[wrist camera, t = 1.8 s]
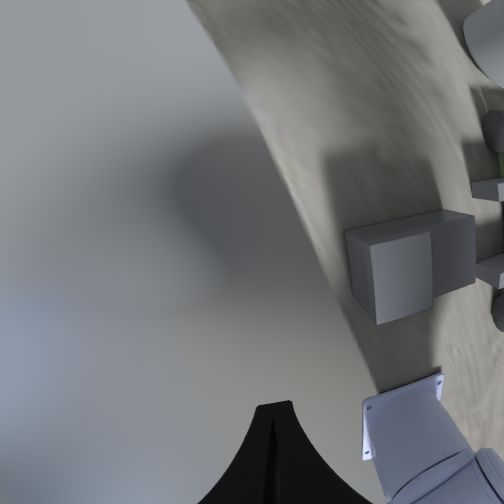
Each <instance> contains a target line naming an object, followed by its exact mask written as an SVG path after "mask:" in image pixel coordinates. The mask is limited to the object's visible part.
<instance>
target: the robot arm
mask: <svg viewBox="0 0 504 504" xmlns="http://www.w3.org/2000/svg"><path fill="white" fill-rule="evenodd" d="M443 381H444V374H443V373H442V372H440V373H437V374H434V375H432V376H430V377H427V378H424V379H422V380H419V381H417V382H414V383H411V384H409V385H406V386H403V387H400V388H397V389H394V390H391V391H388V392H385V393H382V394H379V395H376V396H372V397H369V398H366V399H365V400H364V401H363V404H362V405H363V419H362V420H363V421H362V424H363V425H362V426H363V427H362V459H363V460H368V459H371V458H372V459H373V463H374V465H375V468H376V471H377V474H378V477H379V480H380V483H381V486H382V489H383V492H384V495H385V497H386V499H387V501H388V503H387V504H504V462H503V461H502V460H501V458H500V457H499V456H498V455H497V453H496V452H495V451H494V450H493V449H492V448H486V449H485V448H481V449H480V450H479V451H477V452H474V451H473V450H472V448H471V447H470V445H469V444H468V442H467V441H466V439H465V438H464V436H463V435H462V433H461V432H460V430H459V429H458V427H457V426H456V424H455V423H454V421H453V420H452V418H451V417H450V416H449V414H448V413H447V411H446V410H445V408H444V407H443V405H442V404H441V403H440V396H441V391H442V386H443ZM368 406H369V407H368ZM198 504H373V503H371V502H369V501H368V500H367V499H365V498H364V497H363V496H361V495H360V494H359V493H357V492H356V491H355V490H353V489H352V488H351V487H350V486H349V485H348V484H347V483H346V482H344V481H343V480H342V479H341V478H340V477H339V476H338V475H337V474H336V473H335V472H334V471H333V470H332V469H331V468H330V466H329V465H328V464H327V463H326V462H325V461H324V460H323V458H322V457H321V456H320V454H319V453H318V452H317V451H316V449H315V448H314V447H313V445H312V444H311V442H310V441H309V439H308V437H307V436H306V434H305V432H304V431H303V429H302V427H301V425H300V423H299V421H298V419H297V417H296V414H295V412H294V408H293V404H292V401H290V400H287V401H282V402H276V403H271V404H264V405H259V406H257V407H256V411H255V414H254V417H253V420H252V423H251V425H250V428H249V430H248V432H247V434H246V436H245V438H244V441H243V443H242V445H241V447H240V449H239V450H238V452H237V454H236V456H235V457H234V459H233V461H232V462H231V464H230V466H229V467H228V469H227V470H226V472H225V473H224V474H223V476H222V477H221V478H220V480H219V481H218V482H217V483H216V485H215V486H214V487H213V488H212V489H211V491H210V492H209V493H208V494H207V495H206V496H205V497H204V498H203V499H202V500H201V501H200V502H199V503H198Z"/></svg>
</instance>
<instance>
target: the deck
mask: <svg viewBox="0 0 504 504" xmlns="http://www.w3.org/2000/svg"><path fill="white" fill-rule="evenodd" d="M483 133H484V137H485V139H486V141H487V143H488V145H489V146H490V147H491V148H492V149H493V150H494V151H496V152H497V153H498V159H499V166H500V173H501V178H494V179H488V180H481V181H475V182H471V188H472V196H473V198H478V199H485V200H492V201H498V202H500V201H503V210H504V111H489V112H488V113H487V114H486V115H485V117H484V120H483ZM476 277H477V278H478V279H480V280H482V281H484V282H486V283H488V284H490V285H492V286H493V287H495V288H497V289H501V288H503V294H502V296H500V297H498V298H496V299H495V301H494V302H493V305H492V317H493V321H494V323H495V325H496V327H497V328H498V329H499V330H500V331H502V332H504V253H502V254H499V255H497V256H494V257H491V258H488V259H485V260H483V261H480V262H477V263H476Z"/></svg>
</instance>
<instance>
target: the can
mask: <svg viewBox="0 0 504 504" xmlns="http://www.w3.org/2000/svg"><path fill="white" fill-rule="evenodd" d="M463 31H464V35H465V40H466V45H467V47H468V50H469V52H470V54H471V56H472V58H473V59H474V61H475V63H476V64H477V66H478V67H479V68H480V69H481V71H482V72H483V73H484V74H485V75H486V76H487V77H488V78H489V79H491V80H492V81H493V82H494V83H495V84H497V85H498V86H500V87H502V88H503V89H504V0H491V1H490V2H488V3H487V4H485V5H484V6H482V7H481V8H479V9H478V10H476V11H475V12H473V13H472V14H470V15H469V16H468V17H467V18H466V19H465V20H464V25H463Z"/></svg>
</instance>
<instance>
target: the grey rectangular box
mask: <svg viewBox="0 0 504 504" xmlns="http://www.w3.org/2000/svg"><path fill="white" fill-rule="evenodd" d="M344 234H345V240H346V246H347V253H348V260H349V268H350V275H351V284H352V292H353V295H354V297H355V298H356V299H357V300H358V302H359V303H360V304H361V305H362V307H363V308H364V309H365V311H366V312H367V313H368V315H369V316H370V317H371V318H372V320H373V321H374V322H375V324H376V325H380V324H383V323H386V322H390V321H393V320H396V319H400V318H403V317H406V316H409V315H412V314H415V313H419V312H422V311H425V310H427V309H430V308H432V298H434V297H437V296H440V295H443V294H445V293H448V292H451V291H454V290H457V289H460V288H462V287H465V286H468V285H470V284H473V283H475V279H476V236H475V217H474V215H469V214H465V213H460V212H455V211H450V210H445V209H444V210H439V211H434V212H430V213H425V214H420V215H415V216H411V217H406V218H401V219H397V220H392V221H387V222H382V223H378V224H373V225H368V226H364V227H359V228H354V229H350V230H345V231H344Z"/></svg>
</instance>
